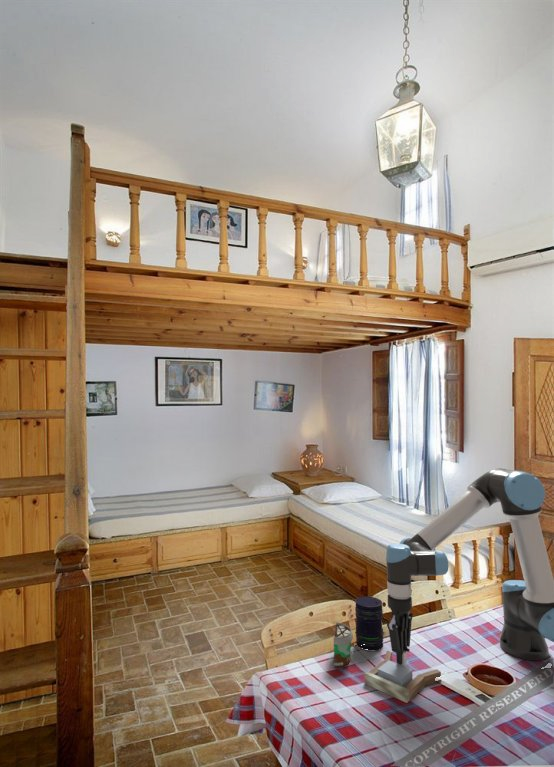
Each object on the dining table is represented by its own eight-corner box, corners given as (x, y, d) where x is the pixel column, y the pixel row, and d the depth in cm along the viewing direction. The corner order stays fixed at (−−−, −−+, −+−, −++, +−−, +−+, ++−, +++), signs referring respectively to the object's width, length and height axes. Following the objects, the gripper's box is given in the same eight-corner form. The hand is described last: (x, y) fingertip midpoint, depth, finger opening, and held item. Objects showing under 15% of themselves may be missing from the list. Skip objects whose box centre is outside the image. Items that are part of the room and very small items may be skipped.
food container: (353, 672, 140) (352, 639, 141) (334, 670, 141) (333, 637, 142) (354, 653, 152) (353, 623, 153) (336, 651, 153) (336, 621, 154)
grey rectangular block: (412, 685, 133) (412, 669, 134) (401, 695, 128) (401, 678, 129) (389, 675, 139) (388, 660, 139) (377, 684, 134) (377, 668, 134)
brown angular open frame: (441, 679, 136) (441, 669, 136) (414, 706, 123) (414, 695, 123) (387, 657, 149) (387, 648, 149) (357, 680, 135) (357, 670, 136)
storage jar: (353, 648, 156) (352, 604, 157) (358, 636, 165) (358, 594, 166) (381, 653, 152) (380, 608, 153) (385, 640, 161) (384, 598, 162)
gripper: (398, 586, 147) (400, 660, 144) (378, 597, 137) (380, 677, 135) (419, 592, 141) (422, 669, 139) (400, 604, 132) (402, 686, 130)
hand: (401, 673), depth 137 cm, fingers closed
